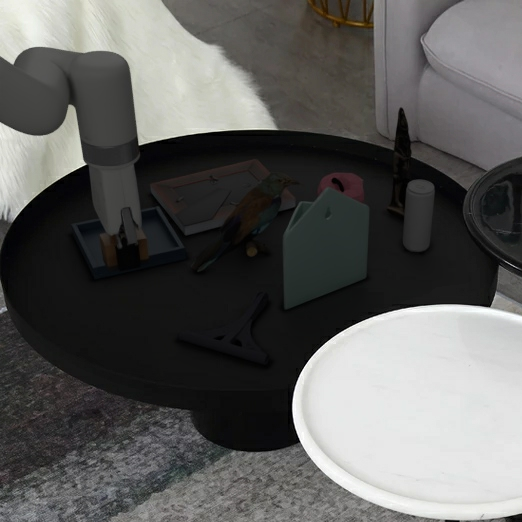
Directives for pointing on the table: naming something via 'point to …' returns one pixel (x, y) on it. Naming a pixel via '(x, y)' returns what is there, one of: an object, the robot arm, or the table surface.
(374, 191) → the table surface
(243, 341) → the bracket
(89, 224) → the tray
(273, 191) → the bird figurine
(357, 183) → the apple
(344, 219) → the planter
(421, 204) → the beverage can
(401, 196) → the statue
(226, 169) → the picture frame
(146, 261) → the brown wooden block
